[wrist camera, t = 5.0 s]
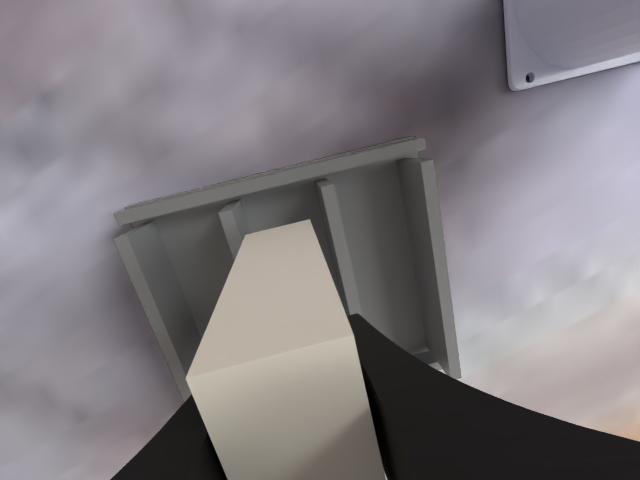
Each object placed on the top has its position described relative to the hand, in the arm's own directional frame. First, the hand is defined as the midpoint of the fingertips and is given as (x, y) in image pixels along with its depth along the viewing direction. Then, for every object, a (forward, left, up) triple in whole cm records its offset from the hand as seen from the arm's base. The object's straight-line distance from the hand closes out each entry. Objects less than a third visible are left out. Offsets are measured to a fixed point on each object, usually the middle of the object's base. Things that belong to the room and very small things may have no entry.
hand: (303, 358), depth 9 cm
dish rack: (0, +2, -10) cm, 10 cm away
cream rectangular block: (0, 0, -4) cm, 4 cm away
